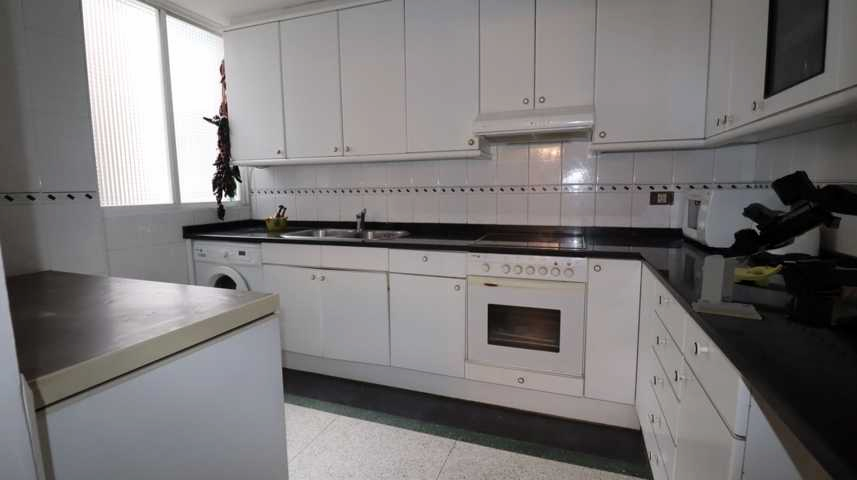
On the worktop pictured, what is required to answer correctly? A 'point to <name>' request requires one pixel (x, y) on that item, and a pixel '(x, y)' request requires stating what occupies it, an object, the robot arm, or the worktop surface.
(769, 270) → the plastic component
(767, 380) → the worktop surface
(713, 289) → the block
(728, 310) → the rail
